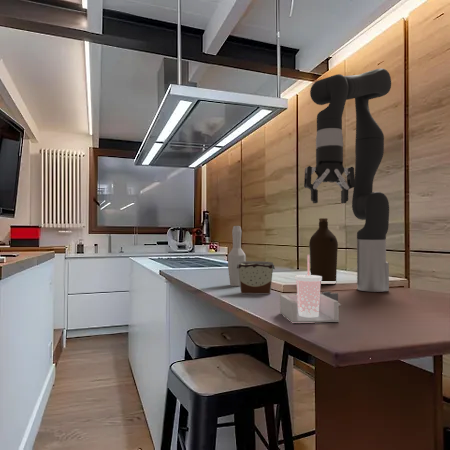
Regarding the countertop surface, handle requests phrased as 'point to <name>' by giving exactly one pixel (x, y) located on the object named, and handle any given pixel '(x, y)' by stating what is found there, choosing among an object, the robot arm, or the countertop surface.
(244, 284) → the food container
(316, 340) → the countertop surface
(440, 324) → the countertop surface
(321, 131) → the robot arm
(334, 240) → the olive oil
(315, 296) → the beverage cup
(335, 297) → the clip
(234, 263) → the faceted bottle
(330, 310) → the tray
